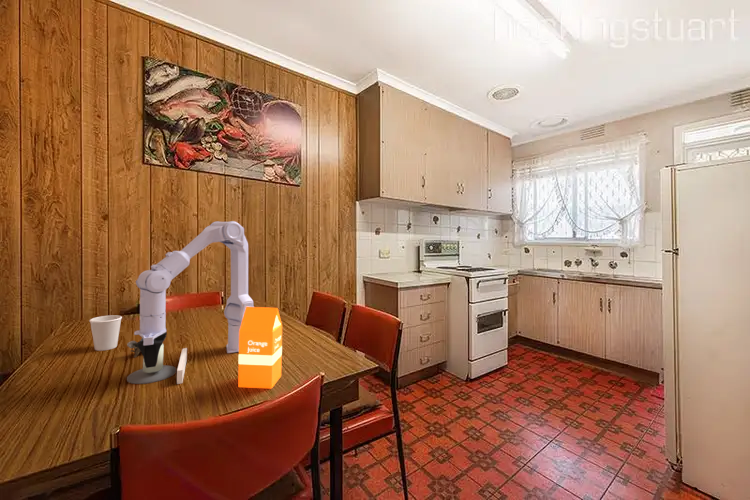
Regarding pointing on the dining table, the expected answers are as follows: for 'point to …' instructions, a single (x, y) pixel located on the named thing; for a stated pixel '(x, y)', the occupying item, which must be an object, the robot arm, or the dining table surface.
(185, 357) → the divider wall
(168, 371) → the rubber mat
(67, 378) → the dining table surface
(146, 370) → the sage cylinder
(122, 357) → the dining table surface
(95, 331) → the dixie cup
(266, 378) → the orange juice
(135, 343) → the eagle figurine
